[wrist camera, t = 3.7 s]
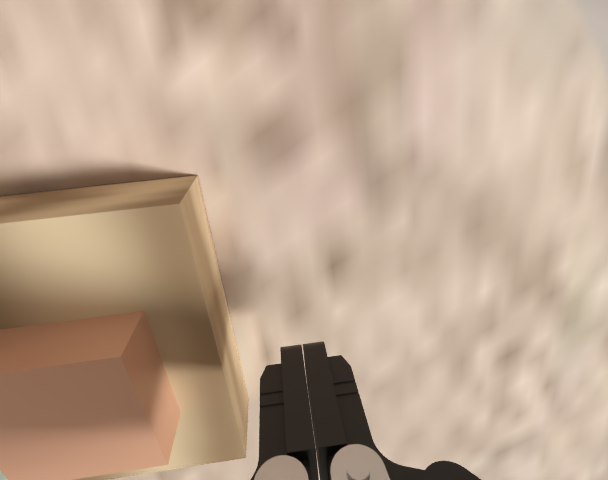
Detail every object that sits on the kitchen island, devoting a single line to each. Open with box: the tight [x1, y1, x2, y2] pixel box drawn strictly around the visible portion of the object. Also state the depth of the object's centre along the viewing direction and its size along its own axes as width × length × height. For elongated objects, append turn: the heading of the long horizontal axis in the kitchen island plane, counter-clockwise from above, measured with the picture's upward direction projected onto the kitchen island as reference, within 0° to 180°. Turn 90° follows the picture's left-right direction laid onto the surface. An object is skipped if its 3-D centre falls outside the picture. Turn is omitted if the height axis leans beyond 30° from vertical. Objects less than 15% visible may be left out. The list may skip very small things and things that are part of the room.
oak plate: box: [0, 175, 249, 480], centre depth 13 cm, size 13×12×3 cm
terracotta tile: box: [0, 311, 181, 480], centre depth 11 cm, size 5×5×2 cm
